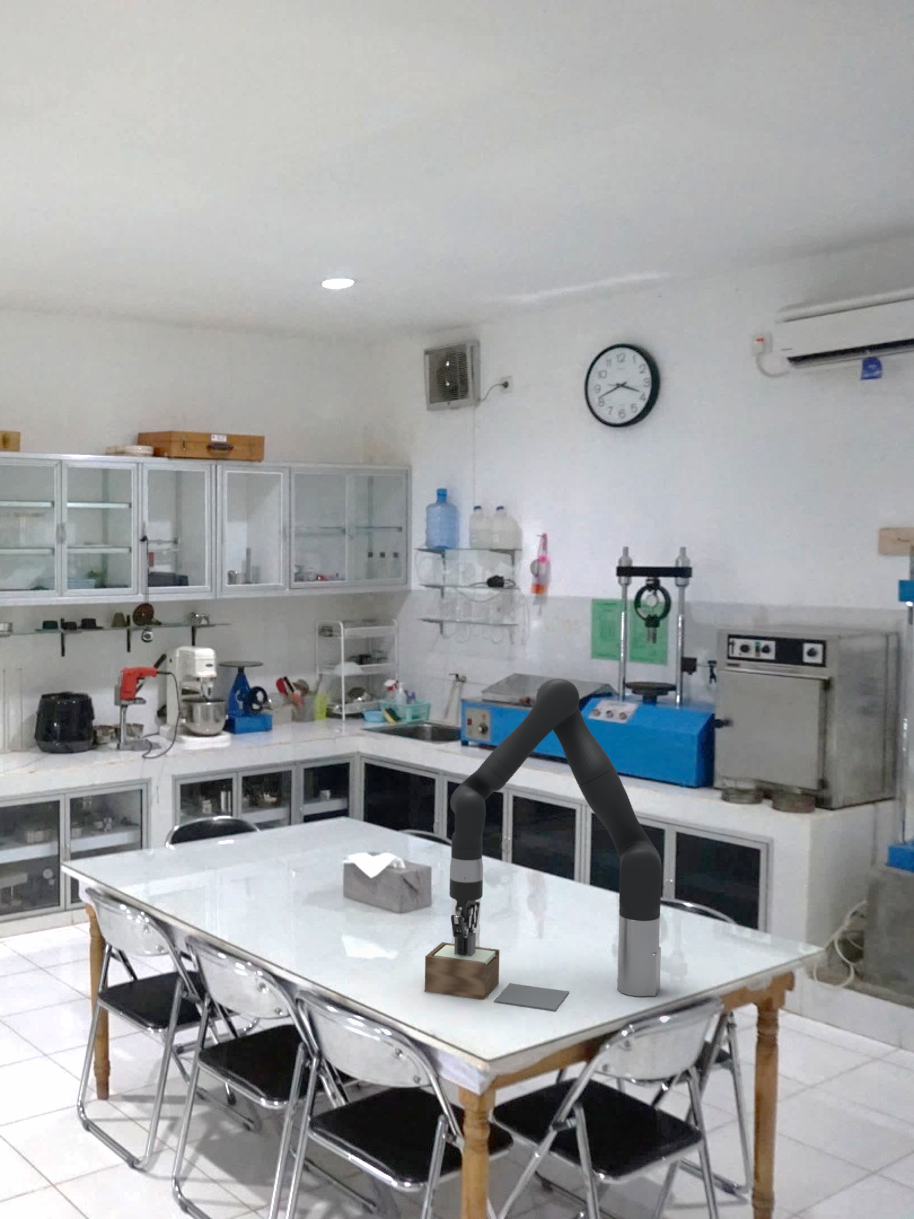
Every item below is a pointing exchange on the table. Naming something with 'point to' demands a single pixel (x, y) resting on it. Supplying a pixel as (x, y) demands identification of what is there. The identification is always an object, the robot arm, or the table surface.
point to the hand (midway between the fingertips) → (464, 951)
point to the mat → (532, 997)
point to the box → (461, 975)
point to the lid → (472, 953)
